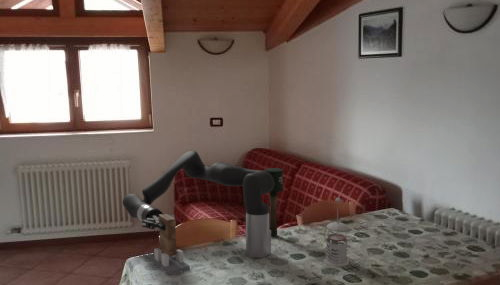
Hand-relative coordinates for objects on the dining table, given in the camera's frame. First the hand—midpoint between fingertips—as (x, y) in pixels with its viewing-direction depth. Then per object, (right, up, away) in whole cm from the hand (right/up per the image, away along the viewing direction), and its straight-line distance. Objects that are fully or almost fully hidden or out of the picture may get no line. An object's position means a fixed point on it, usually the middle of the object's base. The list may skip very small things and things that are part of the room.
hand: (168, 227), depth 169 cm
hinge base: (-1, -15, +3) cm, 15 cm away
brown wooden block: (-1, -10, +3) cm, 11 cm away
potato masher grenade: (+41, -10, +33) cm, 53 cm away
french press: (+63, -14, +6) cm, 65 cm away
